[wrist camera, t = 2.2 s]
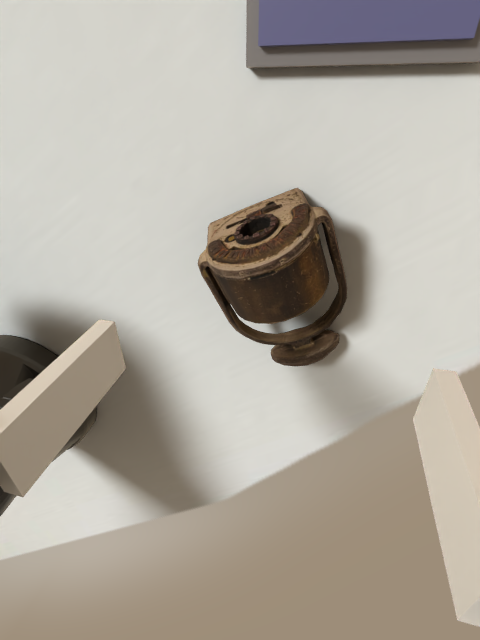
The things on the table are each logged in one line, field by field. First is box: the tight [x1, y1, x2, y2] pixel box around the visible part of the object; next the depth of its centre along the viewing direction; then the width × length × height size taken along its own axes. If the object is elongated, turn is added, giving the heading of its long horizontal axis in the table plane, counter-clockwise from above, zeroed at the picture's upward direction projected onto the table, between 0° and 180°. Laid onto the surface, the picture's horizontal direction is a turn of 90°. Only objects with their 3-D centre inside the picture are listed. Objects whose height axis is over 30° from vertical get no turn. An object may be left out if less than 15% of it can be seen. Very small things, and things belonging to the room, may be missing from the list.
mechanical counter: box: [198, 188, 347, 366], centre depth 21 cm, size 7×13×10 cm
